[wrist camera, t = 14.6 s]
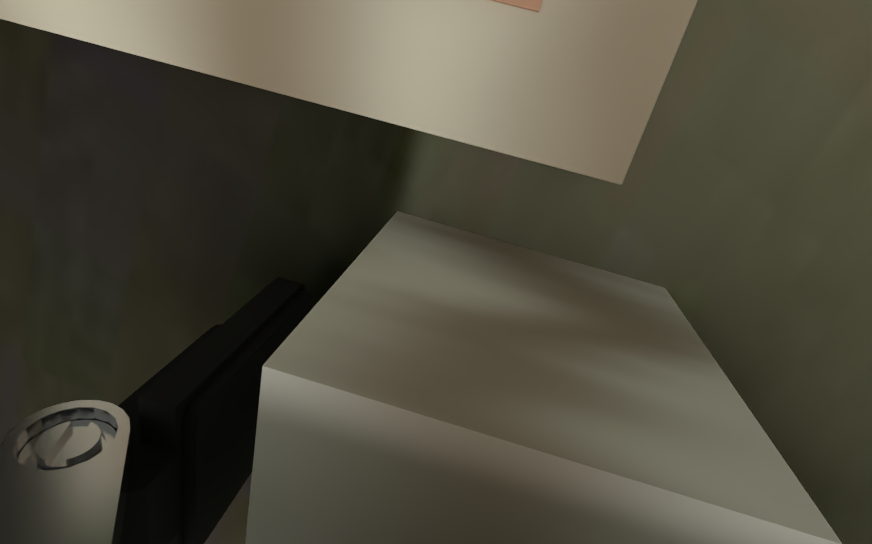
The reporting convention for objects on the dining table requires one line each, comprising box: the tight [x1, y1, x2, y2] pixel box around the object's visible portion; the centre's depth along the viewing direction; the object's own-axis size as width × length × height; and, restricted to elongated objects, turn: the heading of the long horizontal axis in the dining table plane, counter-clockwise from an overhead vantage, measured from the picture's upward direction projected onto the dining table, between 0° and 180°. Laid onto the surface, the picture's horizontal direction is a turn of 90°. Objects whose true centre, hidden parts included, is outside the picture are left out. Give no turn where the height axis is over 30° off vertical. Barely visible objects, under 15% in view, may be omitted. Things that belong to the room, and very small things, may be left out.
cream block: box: [245, 211, 842, 544], centre depth 9 cm, size 6×6×6 cm
